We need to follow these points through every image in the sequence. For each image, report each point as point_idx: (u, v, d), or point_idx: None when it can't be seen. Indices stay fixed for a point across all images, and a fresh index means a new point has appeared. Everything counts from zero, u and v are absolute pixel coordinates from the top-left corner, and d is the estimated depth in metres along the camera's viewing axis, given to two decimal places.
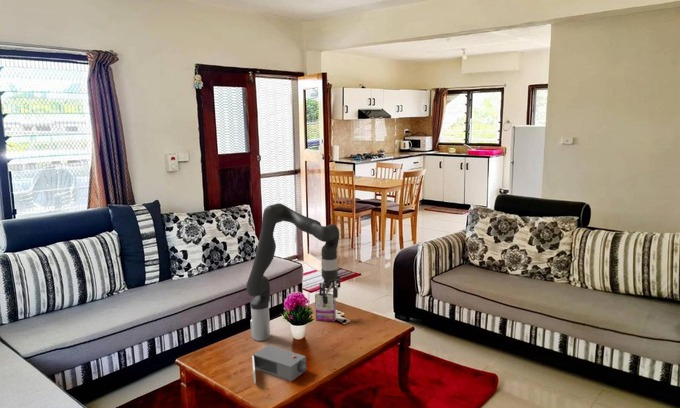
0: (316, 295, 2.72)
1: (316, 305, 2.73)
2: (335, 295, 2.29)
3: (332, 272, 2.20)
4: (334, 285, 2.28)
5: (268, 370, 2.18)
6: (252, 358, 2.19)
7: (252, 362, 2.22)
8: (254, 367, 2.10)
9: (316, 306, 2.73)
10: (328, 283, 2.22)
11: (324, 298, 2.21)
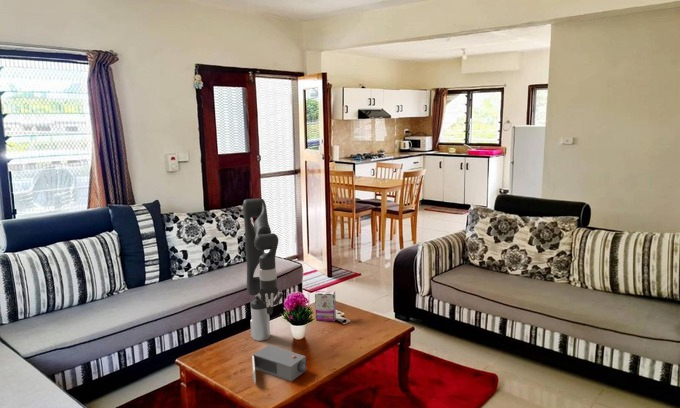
0: (316, 295, 2.72)
1: (316, 305, 2.73)
2: None
3: None
4: None
5: (268, 370, 2.18)
6: (252, 358, 2.19)
7: (252, 362, 2.22)
8: (254, 367, 2.10)
9: (316, 306, 2.73)
10: None
11: None
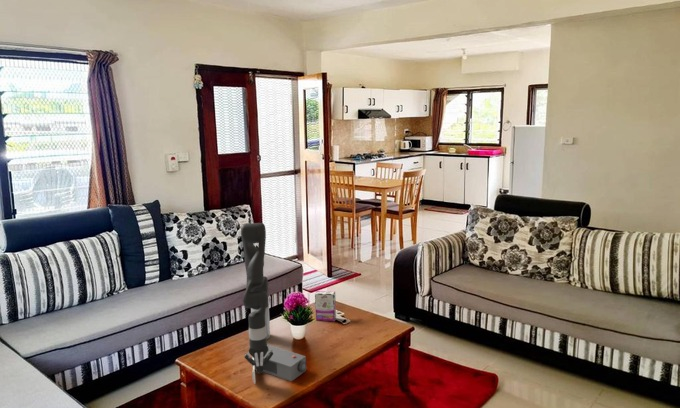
0: (316, 295, 2.72)
1: (316, 305, 2.73)
2: None
3: None
4: None
5: (268, 370, 2.18)
6: (252, 358, 2.19)
7: None
8: (254, 367, 2.10)
9: (316, 306, 2.73)
10: None
11: None
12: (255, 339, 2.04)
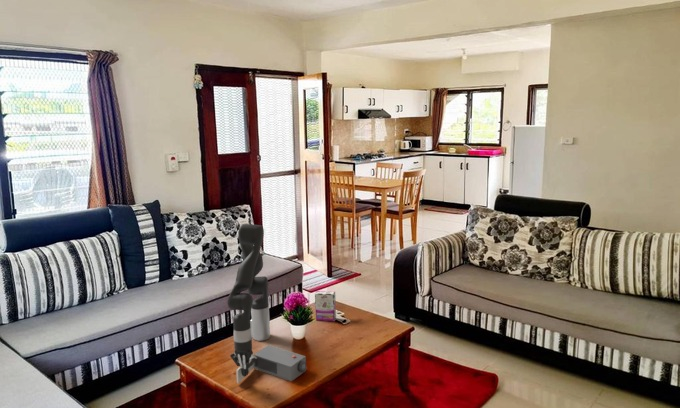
0: (316, 295, 2.72)
1: (316, 305, 2.73)
2: None
3: None
4: None
5: (268, 370, 2.18)
6: None
7: None
8: None
9: (316, 306, 2.73)
10: None
11: (247, 369, 2.09)
12: (235, 340, 2.04)
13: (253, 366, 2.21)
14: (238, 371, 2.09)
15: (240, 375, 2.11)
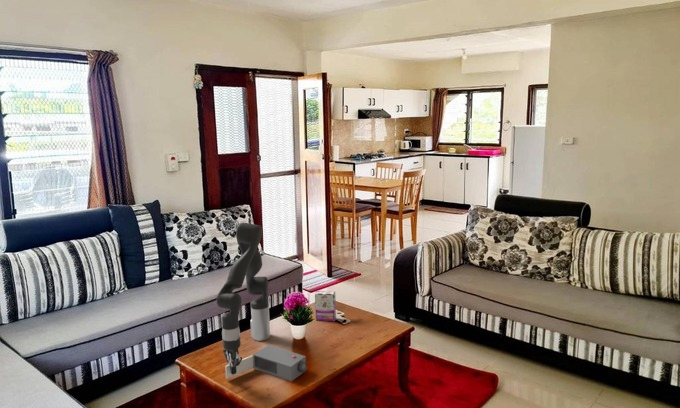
0: (316, 295, 2.72)
1: (316, 305, 2.73)
2: None
3: None
4: None
5: (268, 370, 2.18)
6: (247, 357, 2.20)
7: None
8: None
9: (316, 306, 2.73)
10: None
11: (235, 368, 2.11)
12: None
13: (252, 366, 2.21)
14: (227, 367, 2.12)
15: None
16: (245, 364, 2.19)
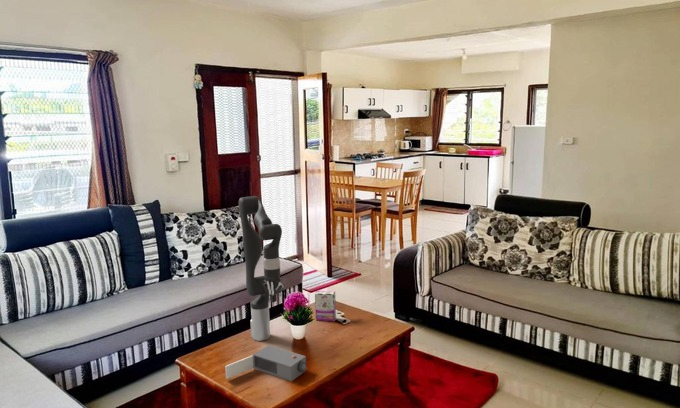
0: (316, 295, 2.72)
1: (316, 305, 2.73)
2: None
3: None
4: None
5: (268, 370, 2.18)
6: (247, 357, 2.20)
7: None
8: (231, 364, 2.14)
9: (316, 306, 2.73)
10: None
11: (275, 296, 2.26)
12: (265, 268, 2.22)
13: (252, 366, 2.21)
14: (227, 367, 2.12)
15: (230, 372, 2.14)
16: (245, 364, 2.19)
